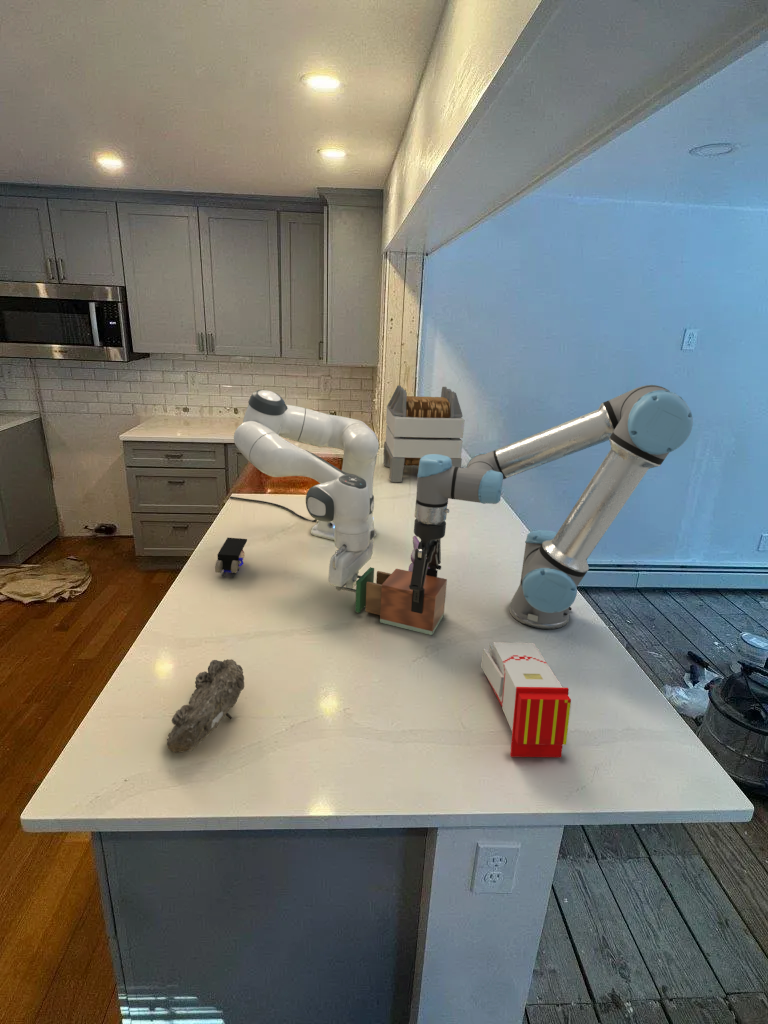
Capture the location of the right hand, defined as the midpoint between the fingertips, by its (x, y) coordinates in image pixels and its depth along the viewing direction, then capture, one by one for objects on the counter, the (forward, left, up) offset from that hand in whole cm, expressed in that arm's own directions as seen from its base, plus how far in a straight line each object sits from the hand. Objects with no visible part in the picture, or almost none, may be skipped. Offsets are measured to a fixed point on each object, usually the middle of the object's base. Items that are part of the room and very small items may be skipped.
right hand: (423, 601), depth 143 cm
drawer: (+11, -7, -5) cm, 14 cm away
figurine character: (+50, -33, -6) cm, 61 cm away
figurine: (-4, -20, -6) cm, 21 cm away
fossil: (+48, +31, -6) cm, 57 cm away
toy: (-12, +34, -6) cm, 37 cm away
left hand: (+17, -10, -1) cm, 20 cm away
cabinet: (+2, -1, -6) cm, 6 cm away
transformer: (-28, -136, -6) cm, 139 cm away
